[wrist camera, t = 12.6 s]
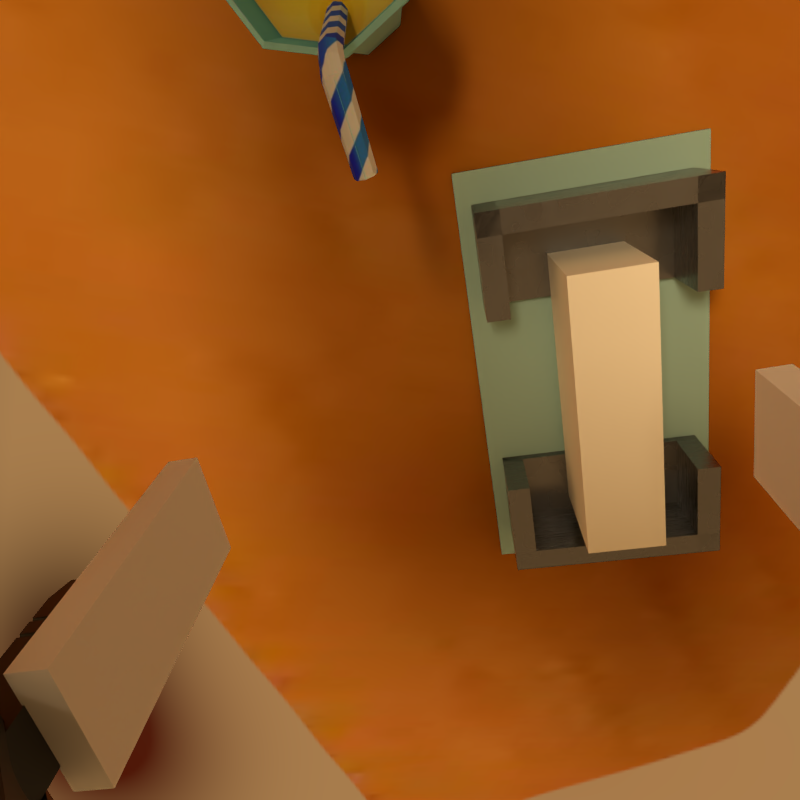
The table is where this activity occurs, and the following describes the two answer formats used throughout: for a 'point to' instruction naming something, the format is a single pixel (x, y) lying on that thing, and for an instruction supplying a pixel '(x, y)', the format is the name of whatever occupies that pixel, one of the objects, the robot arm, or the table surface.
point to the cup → (328, 52)
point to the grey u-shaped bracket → (602, 232)
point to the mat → (533, 319)
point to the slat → (611, 392)
